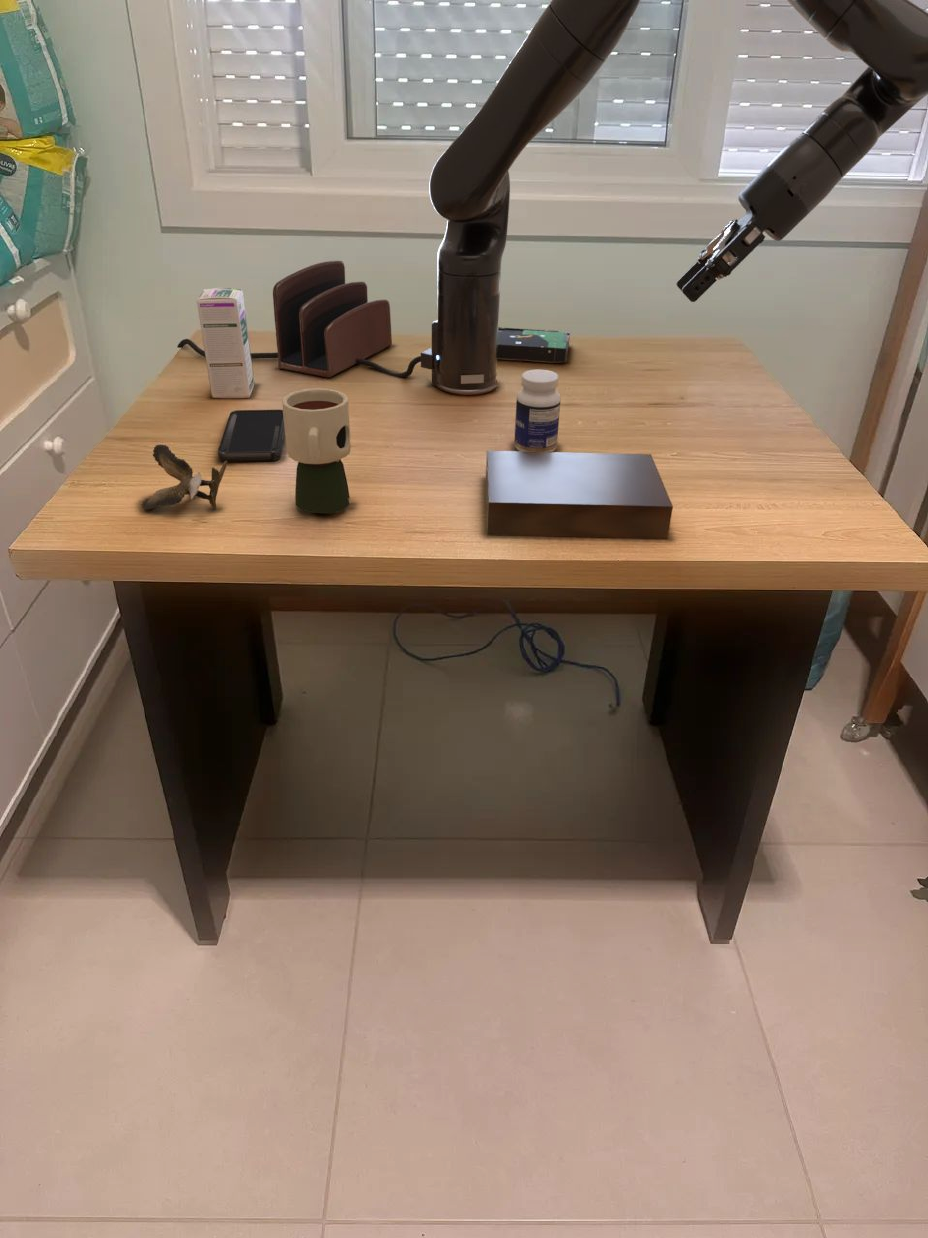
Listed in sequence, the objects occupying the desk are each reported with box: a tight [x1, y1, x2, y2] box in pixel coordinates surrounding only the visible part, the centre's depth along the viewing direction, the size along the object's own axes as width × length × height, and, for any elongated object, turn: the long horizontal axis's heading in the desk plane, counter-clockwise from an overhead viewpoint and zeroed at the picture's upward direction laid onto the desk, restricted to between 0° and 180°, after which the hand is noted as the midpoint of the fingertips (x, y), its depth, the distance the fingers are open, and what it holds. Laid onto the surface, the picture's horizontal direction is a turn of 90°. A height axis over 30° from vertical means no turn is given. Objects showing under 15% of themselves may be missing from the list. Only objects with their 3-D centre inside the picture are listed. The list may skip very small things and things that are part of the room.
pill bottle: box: [513, 368, 561, 452], centre depth 115 cm, size 6×6×10 cm
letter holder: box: [272, 260, 393, 379], centre depth 144 cm, size 10×20×14 cm, turn 154°
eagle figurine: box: [141, 444, 228, 510], centre depth 101 cm, size 8×7×9 cm
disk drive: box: [497, 326, 571, 364], centre depth 152 cm, size 10×3×15 cm
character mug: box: [281, 387, 352, 515], centre depth 99 cm, size 11×7×13 cm, turn 4°
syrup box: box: [196, 287, 256, 399], centre depth 129 cm, size 6×6×14 cm
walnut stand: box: [485, 450, 674, 540], centre depth 103 cm, size 20×14×4 cm
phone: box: [217, 409, 285, 463], centre depth 118 cm, size 8×1×15 cm
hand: (683, 293), depth 111 cm, fingers open, 8 cm apart
